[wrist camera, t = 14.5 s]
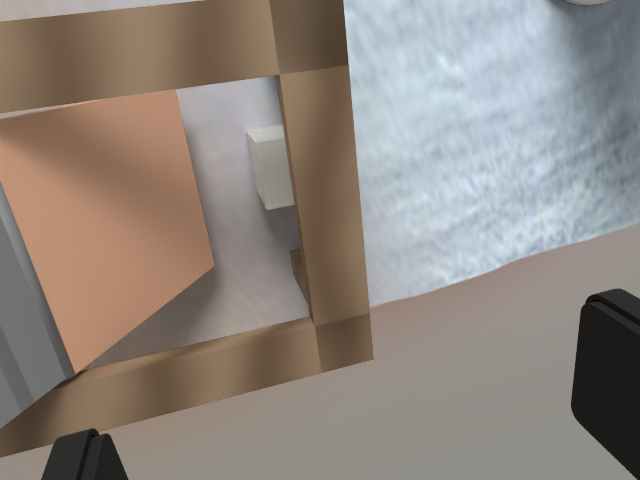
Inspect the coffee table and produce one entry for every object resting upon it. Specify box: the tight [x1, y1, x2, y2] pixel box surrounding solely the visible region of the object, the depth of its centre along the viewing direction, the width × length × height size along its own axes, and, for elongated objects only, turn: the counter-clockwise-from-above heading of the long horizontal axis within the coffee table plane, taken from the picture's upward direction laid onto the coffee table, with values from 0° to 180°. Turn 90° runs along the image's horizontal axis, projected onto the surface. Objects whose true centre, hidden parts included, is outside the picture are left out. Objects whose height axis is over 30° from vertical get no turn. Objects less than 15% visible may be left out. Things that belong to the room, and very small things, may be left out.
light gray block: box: [246, 124, 294, 210], centre depth 37 cm, size 5×5×6 cm
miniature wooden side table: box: [0, 0, 374, 458], centre depth 31 cm, size 25×22×14 cm
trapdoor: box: [0, 89, 215, 429], centre depth 28 cm, size 21×14×4 cm
